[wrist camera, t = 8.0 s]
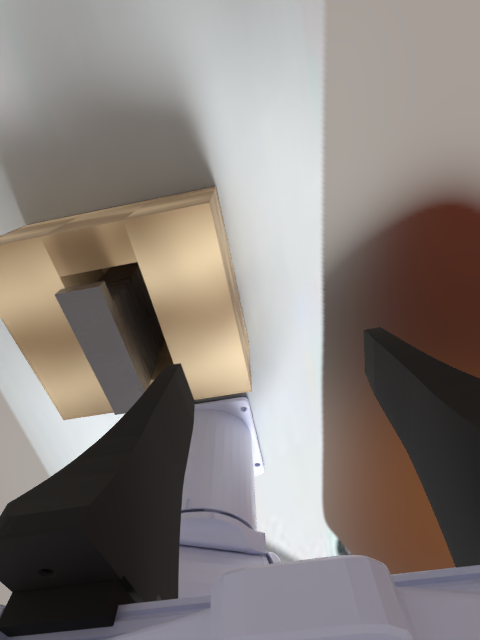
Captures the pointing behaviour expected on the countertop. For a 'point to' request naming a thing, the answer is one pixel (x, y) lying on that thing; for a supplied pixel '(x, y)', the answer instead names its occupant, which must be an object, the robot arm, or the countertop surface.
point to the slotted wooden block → (162, 284)
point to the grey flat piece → (116, 332)
